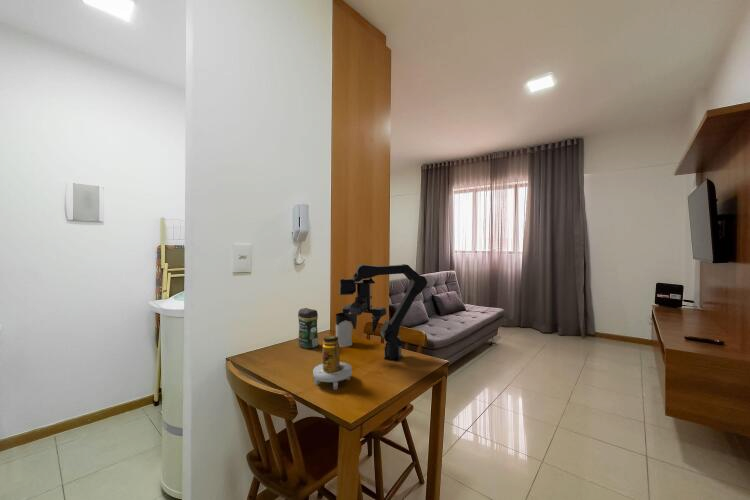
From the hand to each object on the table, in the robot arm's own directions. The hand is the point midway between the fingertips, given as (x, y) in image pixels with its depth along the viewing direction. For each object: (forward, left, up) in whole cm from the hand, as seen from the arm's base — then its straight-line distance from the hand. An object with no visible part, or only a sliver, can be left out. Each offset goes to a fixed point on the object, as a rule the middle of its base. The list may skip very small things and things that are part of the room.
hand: (364, 330), depth 127 cm
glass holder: (+22, -16, -13) cm, 30 cm away
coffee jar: (+34, -4, -13) cm, 37 cm away
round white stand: (+1, +22, -13) cm, 26 cm away
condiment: (+1, +22, -9) cm, 23 cm away
